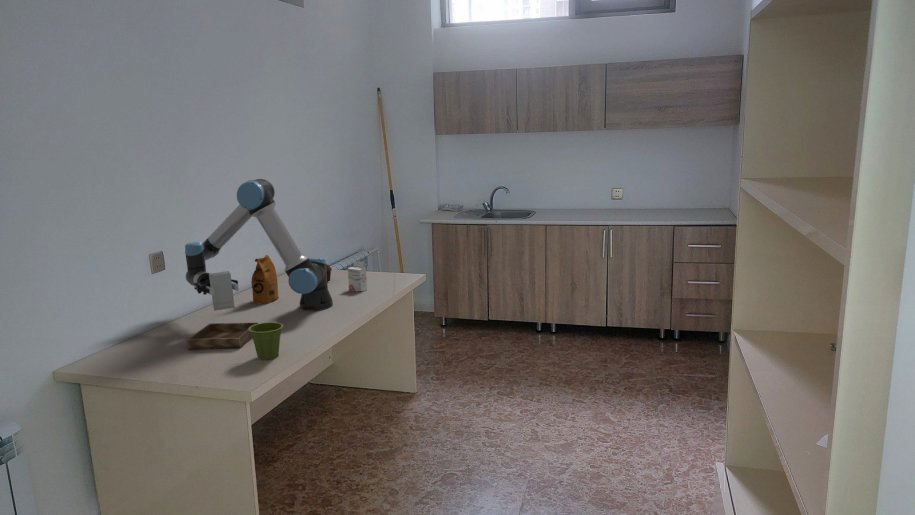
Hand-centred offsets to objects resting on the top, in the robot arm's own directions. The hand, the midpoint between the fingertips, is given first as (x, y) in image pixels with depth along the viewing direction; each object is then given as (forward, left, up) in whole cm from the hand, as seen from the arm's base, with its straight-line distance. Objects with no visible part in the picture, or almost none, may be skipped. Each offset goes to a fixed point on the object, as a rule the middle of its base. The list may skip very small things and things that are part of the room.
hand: (225, 289), depth 245 cm
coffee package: (+2, -49, -18) cm, 52 cm away
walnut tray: (-2, +10, -18) cm, 21 cm away
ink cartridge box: (-40, -66, -18) cm, 79 cm away
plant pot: (-26, +29, -18) cm, 43 cm away
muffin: (-16, -87, -18) cm, 90 cm away
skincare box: (+3, -3, -9) cm, 10 cm away
